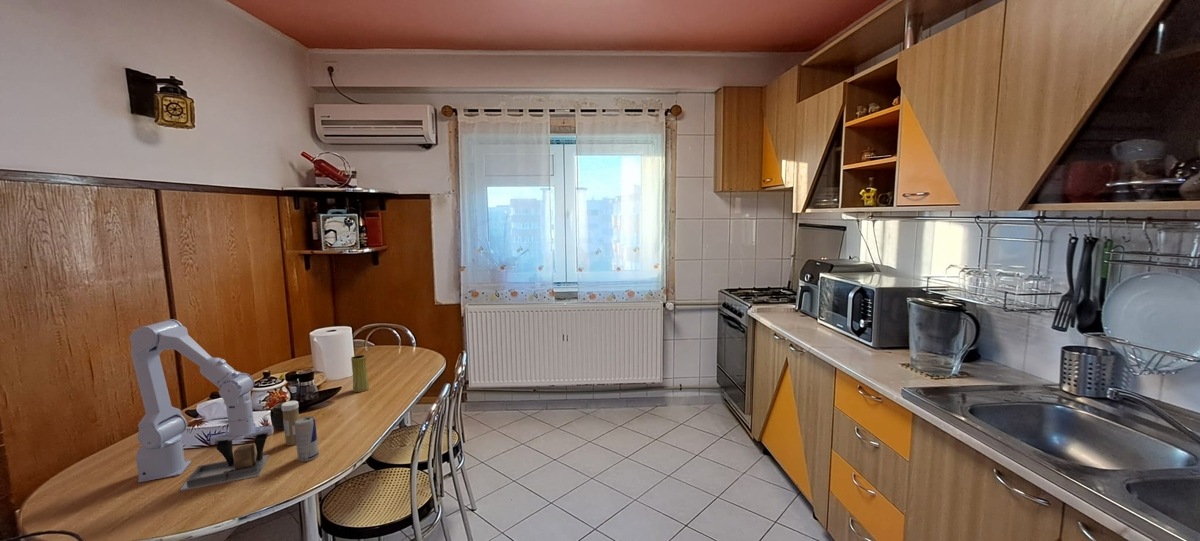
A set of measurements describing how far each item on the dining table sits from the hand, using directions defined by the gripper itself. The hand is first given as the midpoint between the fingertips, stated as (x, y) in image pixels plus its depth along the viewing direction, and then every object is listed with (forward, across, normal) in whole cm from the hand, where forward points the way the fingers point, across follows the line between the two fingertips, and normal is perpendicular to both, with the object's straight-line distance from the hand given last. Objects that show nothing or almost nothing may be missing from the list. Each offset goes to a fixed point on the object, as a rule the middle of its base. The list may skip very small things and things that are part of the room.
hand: (245, 461), depth 137 cm
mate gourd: (+2, +4, +28) cm, 28 cm away
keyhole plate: (+2, -4, 0) cm, 4 cm away
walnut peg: (+2, 0, 0) cm, 2 cm away
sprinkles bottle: (+2, +10, +13) cm, 16 cm away
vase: (+2, +26, +55) cm, 61 cm away
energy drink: (+2, +16, 0) cm, 16 cm away
